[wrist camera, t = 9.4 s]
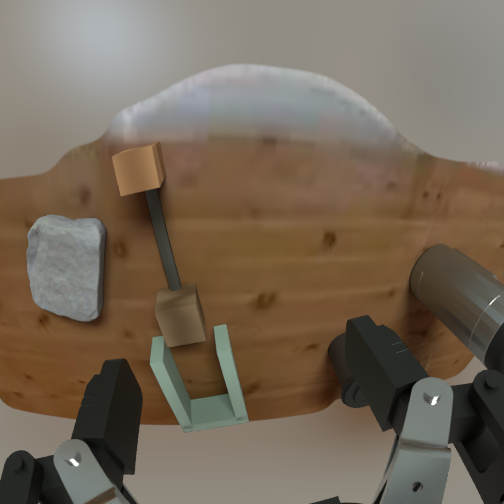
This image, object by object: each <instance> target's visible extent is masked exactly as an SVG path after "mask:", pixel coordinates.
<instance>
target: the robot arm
mask: <svg viewBox="0 0 504 504" xmlns="http://www.w3.org/2000/svg"><path fill="white" fill-rule="evenodd" d="M410 287H411V291H412V293H413V295H414V296H415V297H416V298H417V299H418V300H419V301H421V302H422V303H423V304H424V305H425V306H426V307H427V308H428V309H429V310H430V311H431V312H432V313H433V314H434V315H435V316H436V317H437V318H438V319H439V320H440V321H441V322H442V323H443V324H444V325H445V326H446V327H447V328H448V329H449V330H450V331H451V332H452V333H453V334H454V335H455V336H456V337H457V338H458V339H459V340H460V341H461V342H462V343H463V344H464V345H465V346H466V347H467V348H468V349H469V350H470V351H471V352H472V353H473V354H474V355H475V356H476V357H477V358H478V359H479V360H480V361H481V362H482V364H483V365H484V366H485V367H486V368H487V369H488V370H483V371H481V372H479V373H478V374H477V375H476V377H475V379H474V381H473V383H469V384H462V385H456V386H450V385H449V384H448V383H447V382H445V381H444V380H442V379H439V378H434V377H430V376H429V375H428V374H427V373H426V371H425V370H424V369H423V367H422V366H421V365H420V363H419V362H418V361H417V359H416V358H415V357H414V356H413V354H412V353H411V352H410V350H408V349H407V347H406V345H405V344H404V343H402V340H401V339H400V338H399V336H398V335H397V334H396V333H395V331H393V330H391V329H390V328H388V327H386V326H384V325H380V326H376V324H375V323H374V322H373V320H372V319H371V318H370V316H368V315H365V316H361V317H357V318H353V319H349V320H348V321H347V324H346V342H345V357H346V362H347V365H348V367H349V369H350V371H351V372H352V374H353V376H354V378H355V380H356V382H357V384H358V385H359V387H360V389H361V391H362V393H363V395H364V397H365V399H366V400H367V402H368V404H369V406H370V408H371V410H372V412H373V414H374V416H375V417H376V419H377V421H378V423H379V425H380V427H381V429H382V431H386V430H389V429H392V428H393V429H394V431H395V433H396V436H395V439H394V443H393V446H392V449H391V453H390V456H389V459H388V462H387V465H386V468H385V471H384V474H383V477H382V480H381V483H380V485H379V488H378V490H377V492H376V494H375V497H374V499H373V502H372V504H441V503H442V499H443V495H444V490H445V486H446V481H447V476H448V471H449V466H450V460H451V449H450V448H448V444H449V443H453V444H454V446H455V448H456V450H457V451H458V453H459V455H460V457H461V459H462V461H463V463H464V465H465V467H466V468H467V470H468V472H469V474H470V476H471V478H472V480H473V482H474V484H475V486H476V488H477V490H478V492H479V494H480V496H481V498H482V500H483V502H484V504H504V284H502V283H501V282H500V281H498V280H497V277H496V275H494V274H493V273H492V272H490V271H489V270H487V269H486V268H484V267H483V266H481V265H480V264H478V263H477V262H475V261H474V260H472V259H471V258H469V257H468V256H466V255H465V254H463V253H462V252H460V251H459V250H457V249H452V248H450V247H448V246H446V245H436V246H433V247H431V248H430V249H428V250H427V251H426V252H425V253H424V254H423V255H422V256H421V257H420V259H419V260H418V261H417V263H416V265H415V267H414V269H413V272H412V275H411V279H410ZM142 403H143V398H142V392H141V388H140V386H139V384H138V382H137V380H136V378H135V376H134V374H133V372H132V370H131V368H130V366H129V364H128V362H127V360H126V359H124V358H123V359H113V360H105V361H104V363H103V366H102V370H101V373H100V374H98V375H94V377H93V378H92V379H91V380H90V382H89V383H88V384H87V387H86V390H85V393H84V398H83V399H82V402H81V407H80V409H79V412H78V416H77V419H76V423H75V426H74V430H73V433H72V437H71V440H67V441H65V442H63V443H62V444H61V445H59V447H58V448H57V449H56V451H55V453H54V455H51V456H47V457H42V458H38V459H35V458H34V457H33V456H32V455H31V454H29V453H28V452H26V451H23V450H20V451H16V452H14V453H12V454H11V455H10V456H9V457H8V458H7V460H6V462H5V465H4V469H3V473H2V476H1V480H0V504H38V503H40V504H139V503H138V502H137V500H136V499H135V498H134V497H133V495H132V494H131V493H130V491H129V490H128V489H127V487H126V486H125V485H124V484H123V474H131V475H134V473H135V462H136V451H137V443H138V433H139V426H140V418H141V410H142ZM311 504H360V503H340V501H339V498H338V496H337V497H333V498H330V499H327V500H323V501H319V502H315V503H311Z"/></svg>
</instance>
